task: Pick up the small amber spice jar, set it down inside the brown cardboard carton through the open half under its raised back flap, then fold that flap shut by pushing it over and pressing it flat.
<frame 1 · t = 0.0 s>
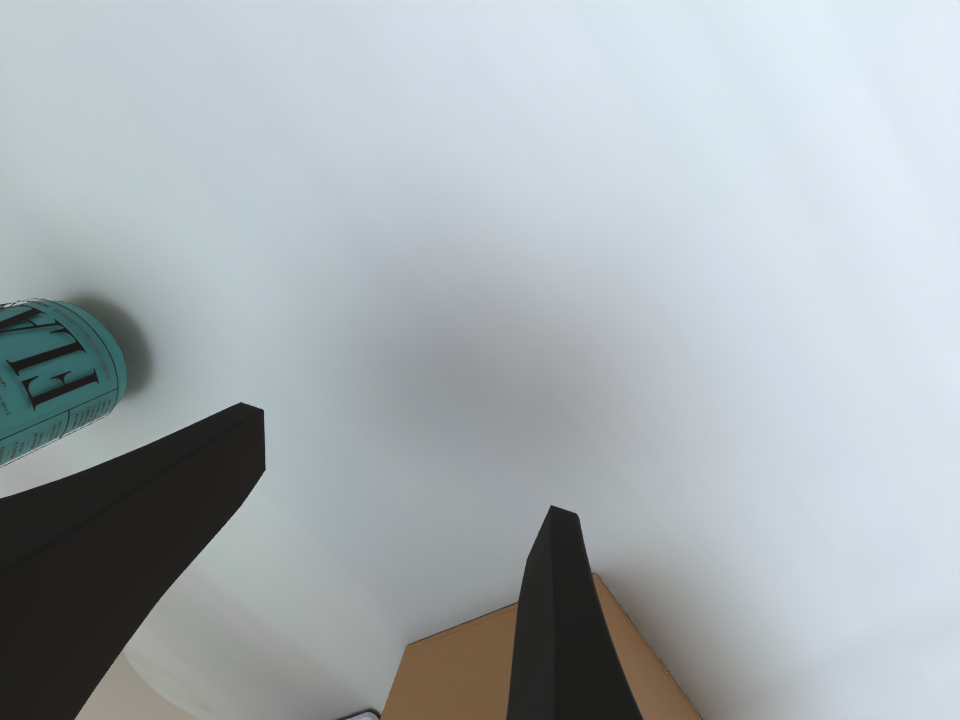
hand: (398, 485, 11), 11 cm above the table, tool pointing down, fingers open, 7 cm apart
beverage bottle: (103, 348, 25), on the table
carton: (555, 689, 28), on the table
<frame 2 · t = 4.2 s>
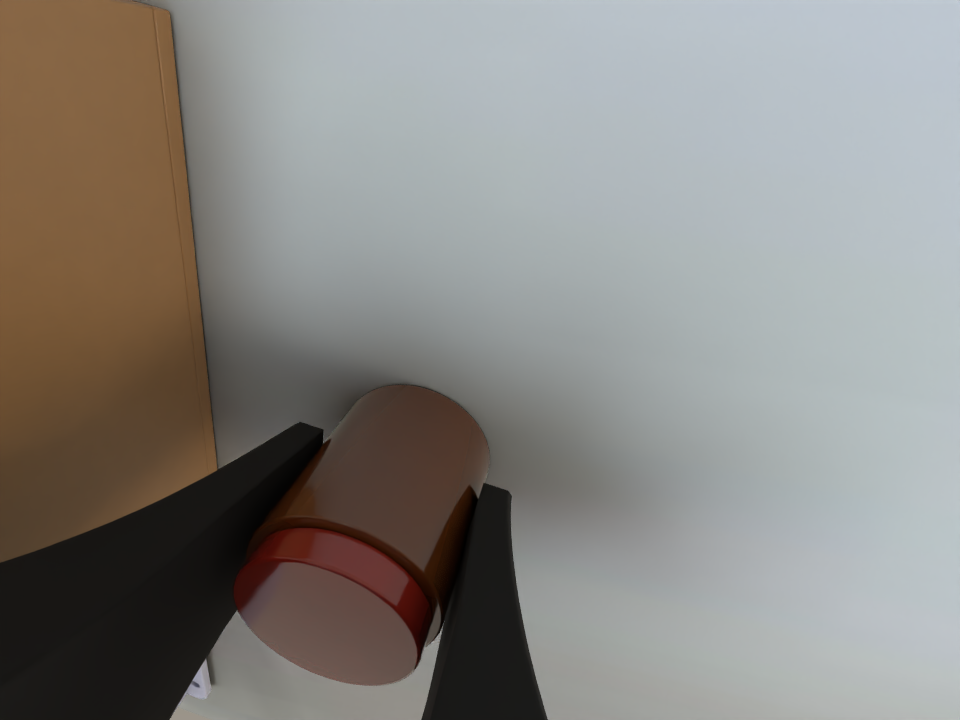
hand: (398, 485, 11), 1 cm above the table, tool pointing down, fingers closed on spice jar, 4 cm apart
spice jar: (416, 447, 13), on the table, touching gripper
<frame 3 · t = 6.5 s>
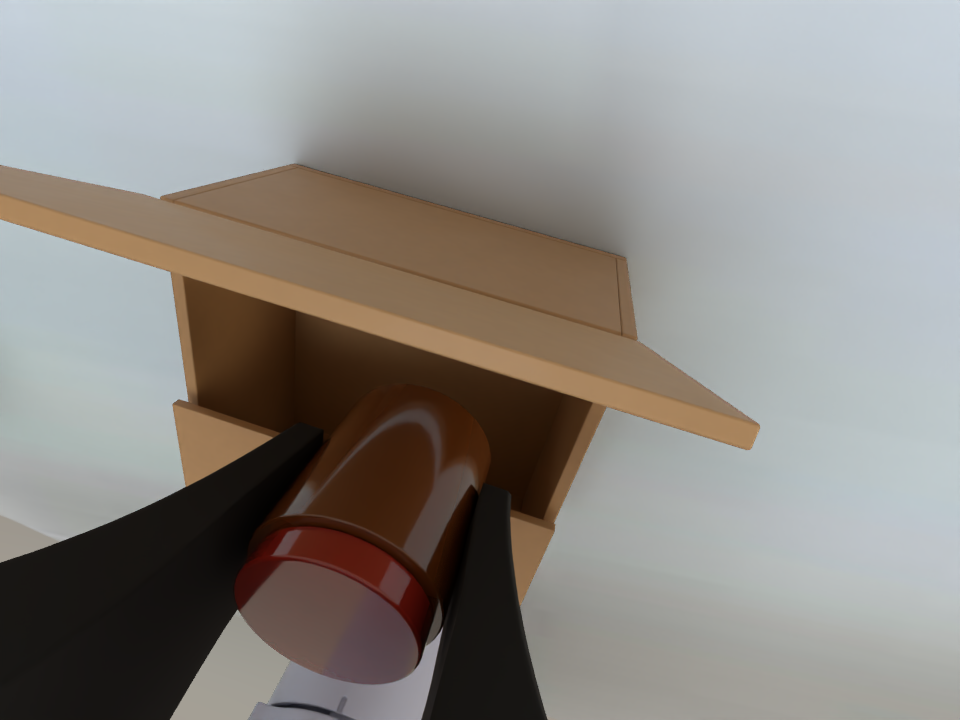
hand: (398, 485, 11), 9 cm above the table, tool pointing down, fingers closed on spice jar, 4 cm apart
spice jar: (417, 446, 13), point 8 cm above the table, touching gripper
carton: (428, 354, 21), on the table
flap: (319, 269, 8), point 10 cm above the table, hinge at 110.0°
when the fingers open (2 cm above the table, at t = 9.0 s): spice jar stays where it is, resting on carton.
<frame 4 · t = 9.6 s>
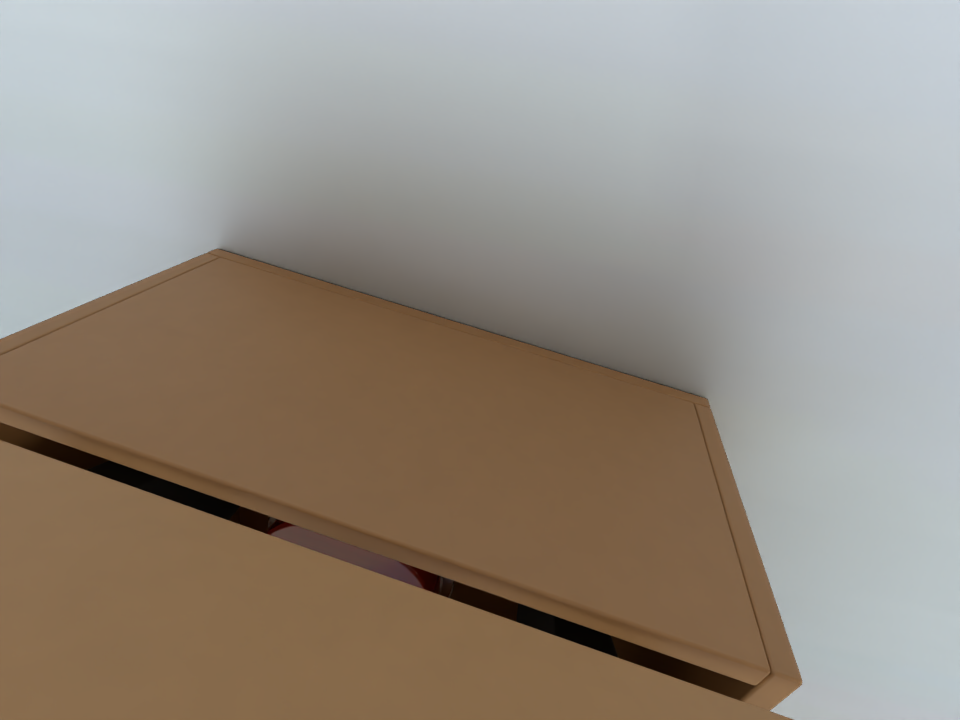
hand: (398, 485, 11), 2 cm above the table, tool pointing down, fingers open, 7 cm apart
spice jar: (425, 429, 13), resting on carton
carton: (415, 494, 15), on the table
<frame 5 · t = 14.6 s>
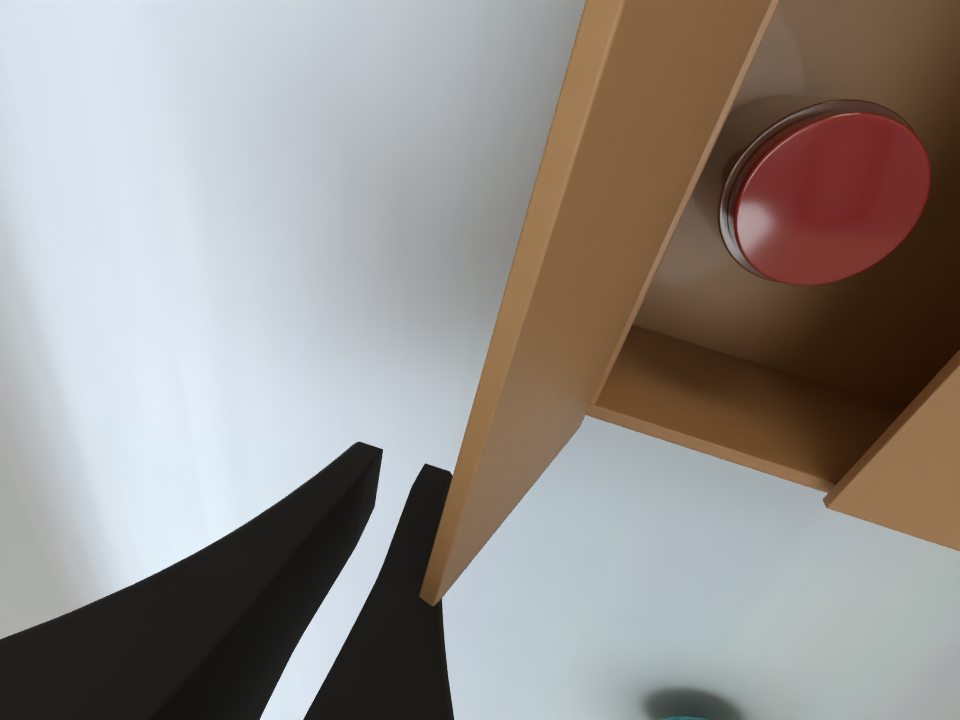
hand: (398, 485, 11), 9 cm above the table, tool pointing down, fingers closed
spice jar: (761, 170, 14), resting on carton
beverage bottle: (693, 712, 30), on the table
carton: (858, 195, 14), on the table
flap: (639, 186, 7), point 10 cm above the table, hinge at 110.3°, touching gripper
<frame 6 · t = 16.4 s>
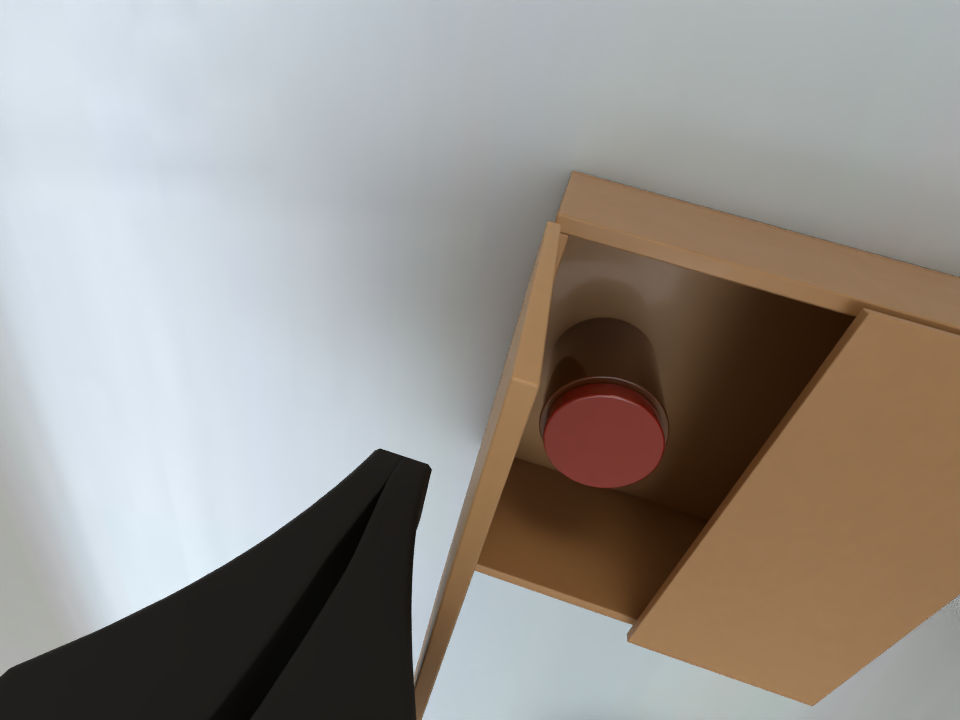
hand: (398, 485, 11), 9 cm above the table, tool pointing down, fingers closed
spice jar: (602, 363, 19), resting on carton
carton: (677, 381, 19), on the table
flap: (463, 534, 11), point 10 cm above the table, hinge at 87.7°, touching gripper
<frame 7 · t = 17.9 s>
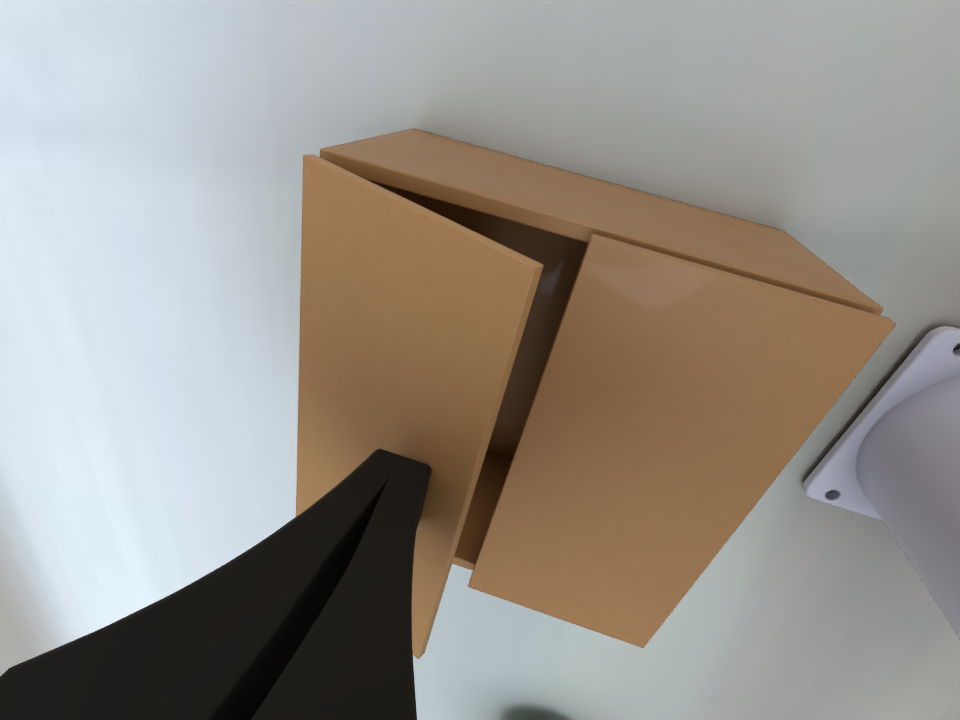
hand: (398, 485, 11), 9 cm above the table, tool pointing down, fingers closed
carton: (539, 340, 19), on the table
flap: (373, 444, 12), point 8 cm above the table, hinge at 26.3°, touching gripper
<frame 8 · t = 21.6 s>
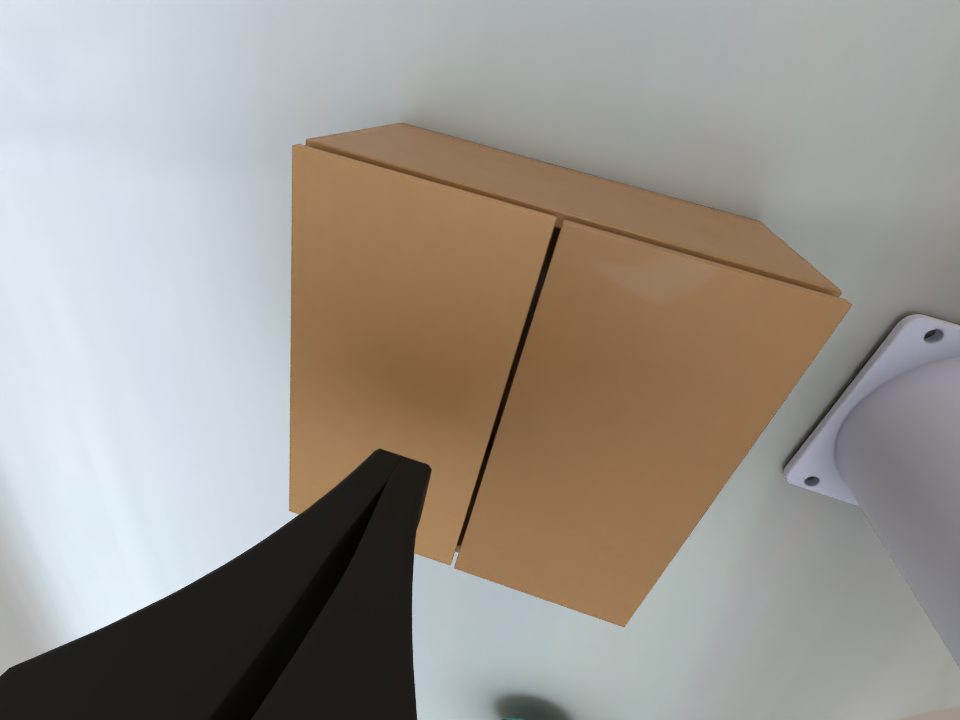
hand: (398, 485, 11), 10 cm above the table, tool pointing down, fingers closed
carton: (526, 330, 20), on the table
flap: (390, 399, 14), point 7 cm above the table, hinge at -0.5°
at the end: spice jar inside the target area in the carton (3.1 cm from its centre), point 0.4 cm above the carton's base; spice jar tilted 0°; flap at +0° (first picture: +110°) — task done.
